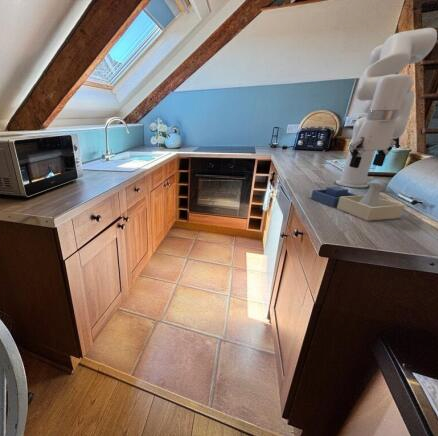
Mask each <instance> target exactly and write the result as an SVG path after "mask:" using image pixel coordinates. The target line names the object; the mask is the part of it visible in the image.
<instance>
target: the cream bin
mask: <svg viewBox="0 0 438 436" xmlns="http://www.w3.org/2000/svg"><path fill="white" fill-rule="evenodd" d="M357 195H358V196H343V197H340V199H339V202H338V205H337V207H336V209H337V210H340V211H343V212H345V213H347V214H350V215H353V216H355V217H358V218H360V219H362V220H365V221H381V220H393V219H394V220H395V219H400V218H401V216H402V213H403V211H404V208H405V205H404V204H402V203H398V202H394V201H391V200H388V199H384V198H381V197H379V200H380V207H370V206H367V205H364V204H361V203H359V201H360V200H361V199H362V198H363V197H364V196H365V195H366V194H361V195H360V194H357Z"/></svg>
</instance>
